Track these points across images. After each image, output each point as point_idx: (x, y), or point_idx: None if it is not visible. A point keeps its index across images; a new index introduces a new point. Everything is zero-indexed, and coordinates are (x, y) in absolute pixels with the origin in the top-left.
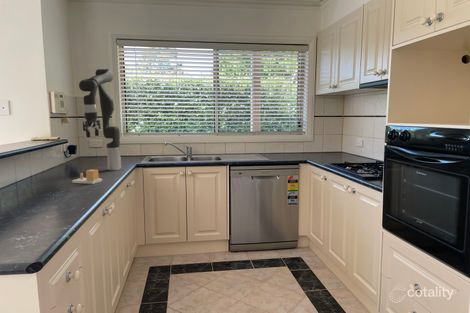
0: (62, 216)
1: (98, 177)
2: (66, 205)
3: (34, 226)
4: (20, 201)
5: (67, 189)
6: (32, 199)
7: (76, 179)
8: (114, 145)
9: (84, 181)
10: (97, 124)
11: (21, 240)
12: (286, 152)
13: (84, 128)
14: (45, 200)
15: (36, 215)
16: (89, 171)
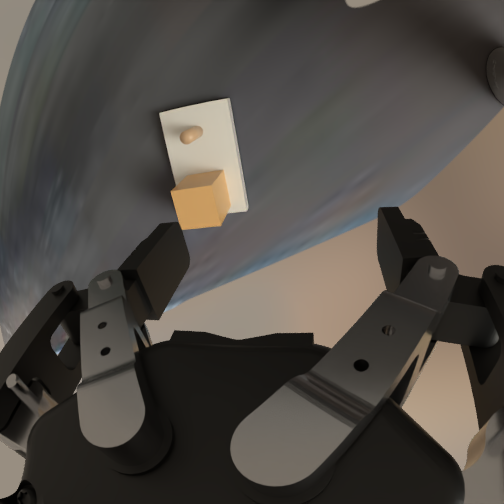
0: None
1: (228, 208)
2: None
3: (16, 323)
4: (5, 197)
5: (97, 193)
6: (19, 205)
7: (182, 112)
8: None
9: (174, 177)
10: (497, 393)
11: (9, 335)
12: None
13: (53, 318)
14: (33, 241)
15: (17, 297)
16: (176, 210)
